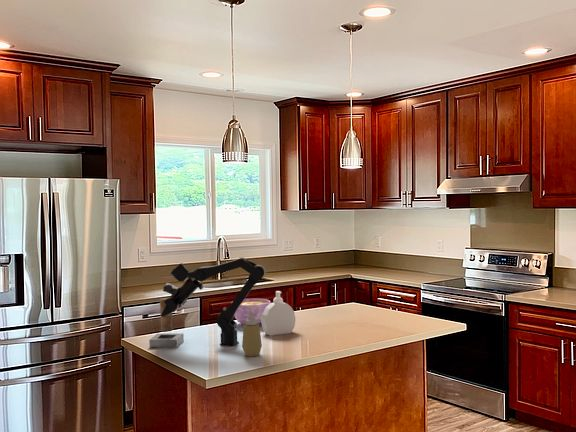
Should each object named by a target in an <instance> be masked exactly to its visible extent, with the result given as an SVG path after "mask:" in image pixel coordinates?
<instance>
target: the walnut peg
mask: <svg viewBox="0 0 576 432" xmlns="http://www.w3.org/2000/svg"><path fill="white" fill-rule="evenodd" d="M167 298H168V297H164V298H159V305H160V306H159V307H160V308H159V309H160V311H159V314H160V332H161V333H162V332H163V333H164V332H165V333H168V332H172V331H173V312H172V313H170V314H167V315H165V316H163V317H162V316H161V314H162V312H163V310H164V309H165V307H166V304H165V303H164V301H165V300H166V299H167Z"/></svg>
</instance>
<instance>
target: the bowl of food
mask: <svg viewBox="0 0 576 432" xmlns="http://www.w3.org/2000/svg"><path fill="white" fill-rule="evenodd" d="M232 302H233V300H232V301H231V303H232ZM231 303H230V304H231ZM270 303H271V300H269V299H266V298H245V299H244V300H243V302H242V303H241V305H240V306H239V307H238V309H237V310H236V313H235V315H234V318H235V320H236V321H237V323H240V324H242V325H243V326H245V325H246V320H247V319H248V318H249V312H250V311H253V315H254V319H256V320H257V325H259V326H260V324H262V323H261V320H262V314H263V312H264V310H265V308H266V307H267V306H268V305H269V304H270Z"/></svg>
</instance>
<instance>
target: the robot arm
mask: <svg viewBox="0 0 576 432" xmlns="http://www.w3.org/2000/svg"><path fill="white" fill-rule="evenodd" d="M238 268H240V269H243V270H244V271H245V272H247V273H249V275H248V277H247V280H246V282H244V285H243V286H242V288H241V289H240V291H239V292H238V293H237V294H236V296H235V297H234V299H233V300H232V301H233V302H232V301H231V302H232V303H230V305H229V306H228V307H226V306H224V307H223V308H222V309H221V311H220V313H218V314H217V319H216V325H217V326H218V327H219V328H220V329H221V331H220V332H221V333H220V342H219V346H227V347H228V346H229V347H233V346H235V345H238V344H240V342H239V341H238V329H236V328H237V325H238V322H236V321H235V320H234V318H235V316H234V315H235V313H236V310H237V309H238V307H239V306H240V305H241V303H242V302H243V300H244V299H247V298H246V297H248V295H249V293H250V292H251V291H252V289H253V288H254V287H255V285H256V284H257V283H258V282H259V281H261V280H262V278H263V277H264V276H265V275H266V273H267V270H266V267H265V266H264V265H262V264H256V262H252V261H251V260H249V259H246V258H245V257H239V258H237V259H234V260H231V261H227V262H223V263H220V264H216V265H210V266H209V265H206V266H200V267H198V268H197V269H195V270H193V269H192V270H191V271H190V270H189V269H188V268H187V267H186V265H185V264H184V263H179V265H177V266H176V267H175V268H173V270H171V272H170V275H171V276H172V277H173V278H174V279H175V281H177V282H178V283H183V284H182V285H181V286H179V287H177V286H176V285H173V284H172V283H169V282H166V283H165V284H164V286H163V289H162V292H165V293H168V294H170V297H166V298H167V299H166V300H165V301H164V303H165V304H166V307H165V309H164V310H163V312H162V314H161V316H162V317H163V316H165V315H167V314H170V313H172V314H173V313H174V312H176V311H177V310H178V309H179V308H181V307H182V306H184V305H185V304H187V302H188V298H190V297H191V296H192V294H194V292H195V291H196V290H197V289H198V290H203V289H204V282H203V281H206V280H207V279H209V278H211V277H213V276H216V275H218V274H222V273H225V272H228V271H232V270H235V269H238ZM161 316H160V317H161Z"/></svg>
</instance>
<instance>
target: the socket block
mask: <svg viewBox="0 0 576 432" xmlns="http://www.w3.org/2000/svg"><path fill="white" fill-rule="evenodd" d="M184 336H185V335H184V333H177V332H176V333H173V332H172V333H171V332H170V333H156V334H155V335H154V336H152V337H151V338H150V339H149V342H148V343H149V348H150V347H157V348H156V349H163V348H164V347H168V348H167V349H169V348H170V347H177V348H178V347H180V345H181V344H183V342H185V341H184ZM161 347H163V348H161ZM164 349H165V348H164Z"/></svg>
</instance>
